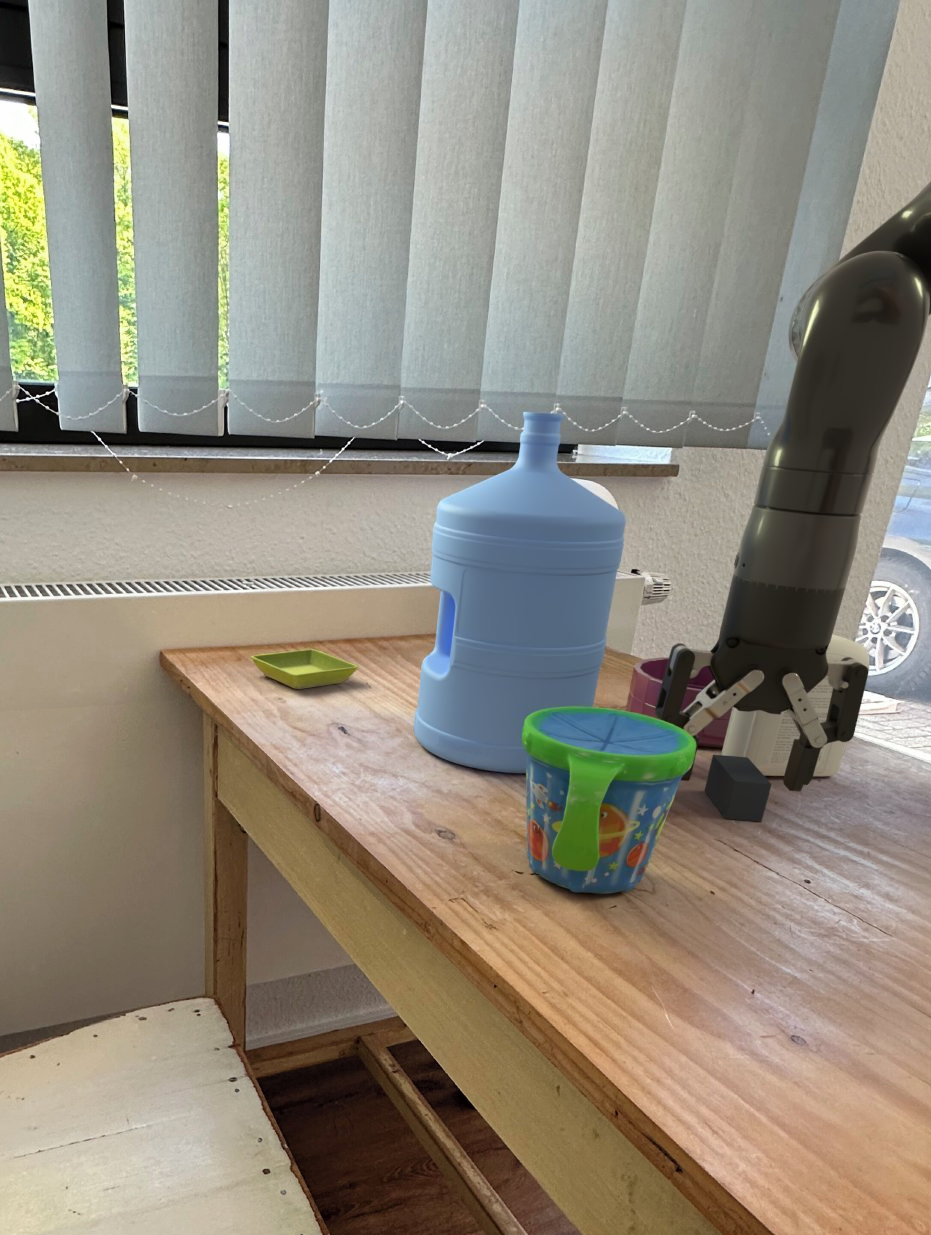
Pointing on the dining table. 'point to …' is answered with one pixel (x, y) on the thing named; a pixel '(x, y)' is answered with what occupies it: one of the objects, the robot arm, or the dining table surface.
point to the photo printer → (789, 725)
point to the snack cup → (599, 793)
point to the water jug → (516, 604)
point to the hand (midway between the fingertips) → (736, 782)
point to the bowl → (648, 688)
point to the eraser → (737, 788)
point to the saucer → (304, 668)
